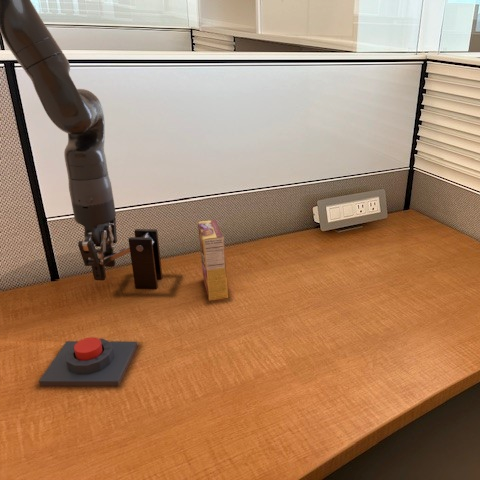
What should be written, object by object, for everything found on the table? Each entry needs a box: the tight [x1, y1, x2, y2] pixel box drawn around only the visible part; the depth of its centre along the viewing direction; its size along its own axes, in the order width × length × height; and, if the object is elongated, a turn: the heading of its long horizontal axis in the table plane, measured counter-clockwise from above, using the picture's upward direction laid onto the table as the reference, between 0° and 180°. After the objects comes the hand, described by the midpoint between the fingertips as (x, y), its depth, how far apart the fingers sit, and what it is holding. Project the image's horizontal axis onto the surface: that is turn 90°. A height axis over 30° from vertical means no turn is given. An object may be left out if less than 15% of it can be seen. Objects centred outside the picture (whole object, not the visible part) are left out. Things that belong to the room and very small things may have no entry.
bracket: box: [128, 228, 163, 290], centre depth 100 cm, size 11×8×13 cm
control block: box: [38, 338, 138, 387], centre depth 79 cm, size 12×10×4 cm
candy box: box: [197, 219, 229, 302], centre depth 99 cm, size 9×4×15 cm, turn 20°
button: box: [74, 336, 103, 361], centre depth 78 cm, size 4×4×2 cm
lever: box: [103, 233, 154, 267], centre depth 99 cm, size 12×5×2 cm, turn 92°
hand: (105, 272), depth 101 cm, fingers closed on lever, 5 cm apart
